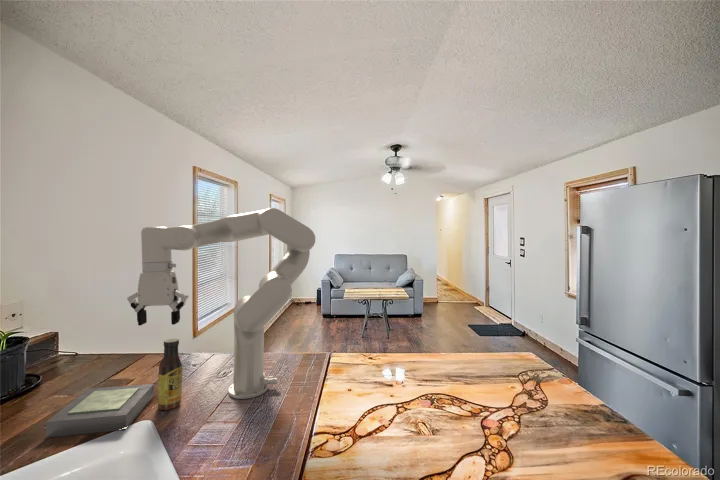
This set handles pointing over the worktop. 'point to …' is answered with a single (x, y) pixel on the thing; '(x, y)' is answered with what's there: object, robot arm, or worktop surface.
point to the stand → (100, 410)
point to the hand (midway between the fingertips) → (158, 323)
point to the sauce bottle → (170, 377)
